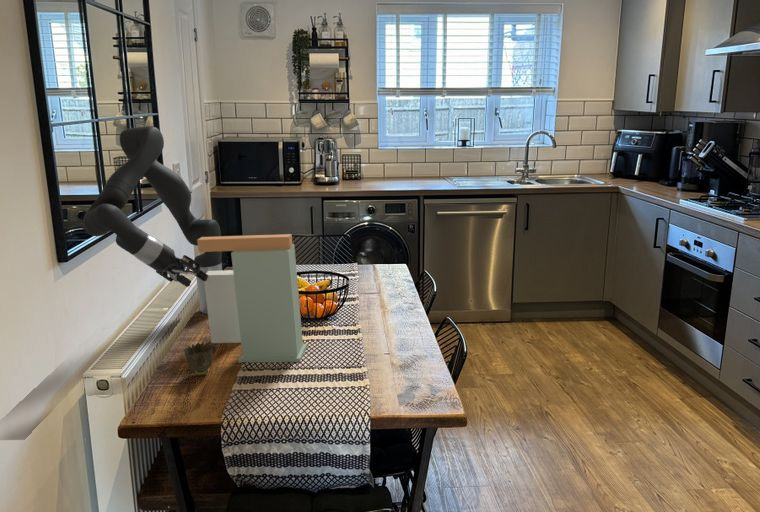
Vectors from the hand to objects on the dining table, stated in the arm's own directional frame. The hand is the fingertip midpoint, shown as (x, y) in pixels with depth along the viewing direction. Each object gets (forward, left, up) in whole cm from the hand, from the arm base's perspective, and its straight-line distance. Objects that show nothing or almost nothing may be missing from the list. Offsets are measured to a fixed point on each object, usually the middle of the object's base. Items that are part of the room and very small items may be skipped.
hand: (197, 281), depth 184 cm
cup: (+19, +6, -21) cm, 29 cm away
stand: (+6, +23, -21) cm, 31 cm away
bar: (+6, +18, +11) cm, 22 cm away
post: (-6, +6, -21) cm, 22 cm away
